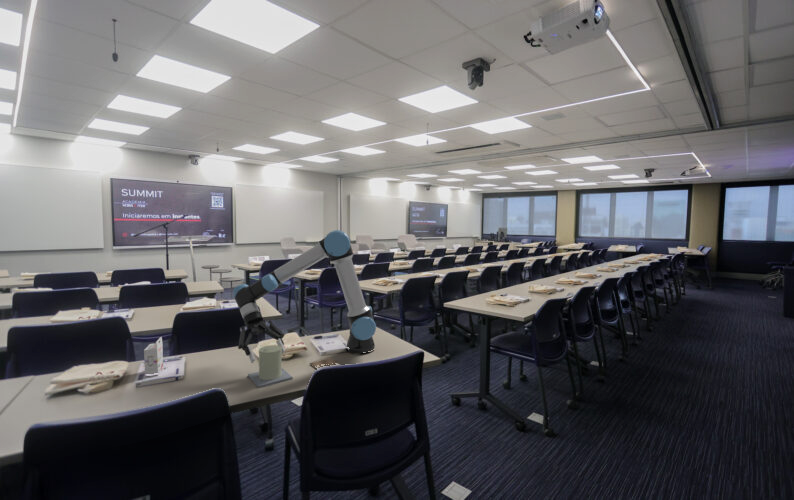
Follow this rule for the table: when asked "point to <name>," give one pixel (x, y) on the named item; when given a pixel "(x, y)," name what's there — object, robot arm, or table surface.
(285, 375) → the grey mat
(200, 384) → the table surface
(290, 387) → the table surface
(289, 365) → the table surface
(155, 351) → the ink cartridge box
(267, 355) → the can
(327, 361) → the walnut coaster
